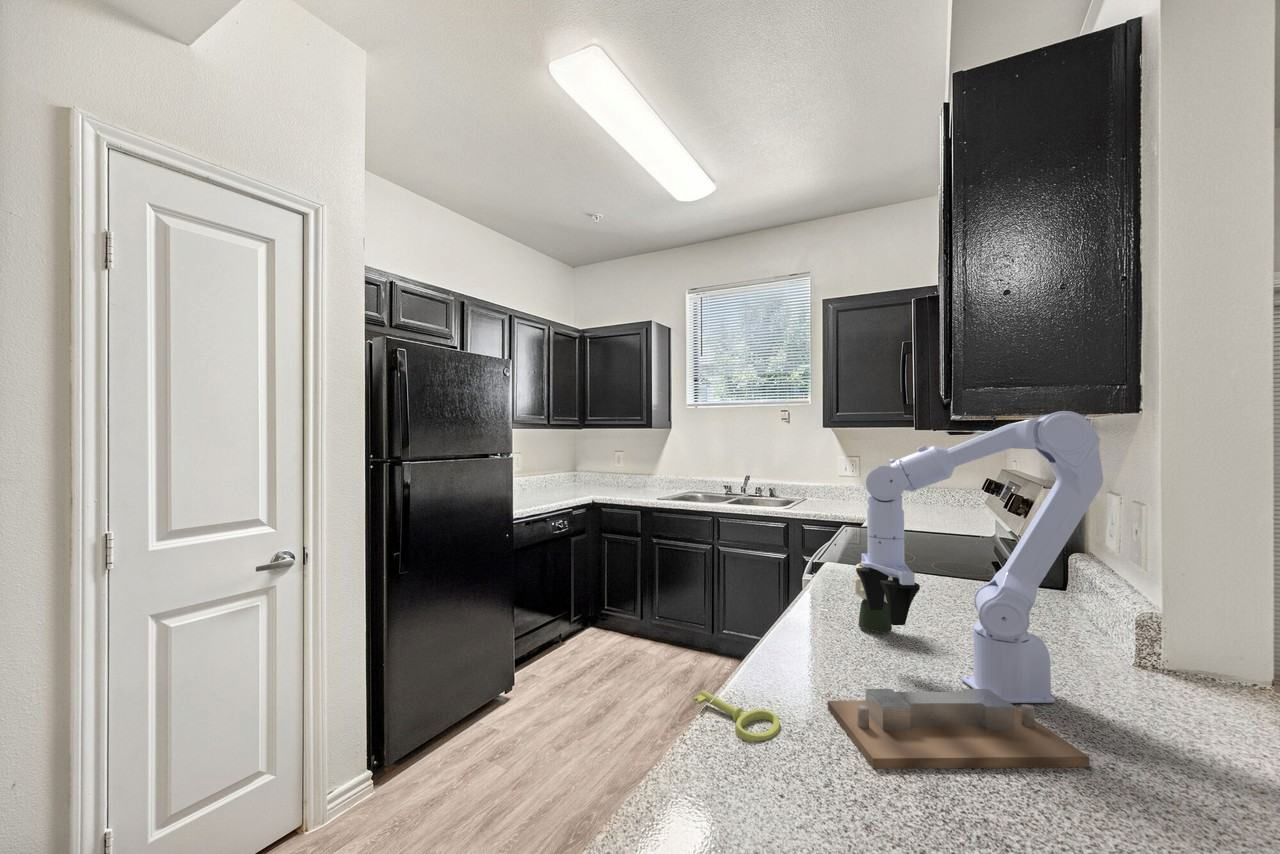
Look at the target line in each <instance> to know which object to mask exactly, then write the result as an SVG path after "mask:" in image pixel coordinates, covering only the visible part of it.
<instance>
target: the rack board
mask: <svg viewBox="0 0 1280 854" xmlns="http://www.w3.org/2000/svg"><path fill="white" fill-rule="evenodd" d="M1005 701H1006V700H1005ZM1007 702H1008V701H1007ZM1008 703H1009V702H1008ZM1009 704H1011V705H1012V706H1014V730H986V729H985V728H984V727H982V726H946V727H910V730H882V729H881V728H880V727H879V725H878V724H877V723H876V722H875V721H874V720H873V719H872V717H871V716H870V715H869V708H868V707H866V699H865V700H863V699H860V700H827V710H828V711H829V713H830V714H831V715H832V717H833V718H834V720H836V722H837V723H838V724H839V726H840V727H841V728H842V730H843V731H844V733H846V735H847V737H848V738H849V739H850V740H851V742H852V743H853V744H854V745H855V747H856V748H857V750H858V752H860V753H861V755H862V756H863V758H864V759H865V760H866V761H867V763H868V764H869V765H870V767H871V768H872V769H875V770H880V769H881V770H883V769H884V770H888V769H889V770H893V769H896V770H897V769H899V770H900V769H990V768H991V769H993V768H995V769H996V768H997V769H998V768H999V769H1002V768H1003V769H1005V768H1007V769H1008V768H1013V769H1014V768H1015V769H1017V768H1021V769H1022V768H1089V767H1090V756H1089V755H1087V754H1086V753H1085V752H1083V751H1081V750H1080V749H1078V748H1077V747H1076V746H1074V745H1073V744H1071V743H1070V742H1068V741H1067V740H1066V739H1064V738H1063V737H1061V736H1060V735H1058V734H1057V733H1055V732H1053V731H1052V730H1051V729H1049V728H1048V727H1046V726H1045V725H1044V724H1041V723H1040V722H1038V720H1036V719H1035V715H1036V714H1035V707H1034V706H1032V705H1030V704H1027V703H1021V705H1020V706H1021V707H1020V708H1018V707H1017V706H1015V705H1014V704H1013V703H1009Z"/></svg>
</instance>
